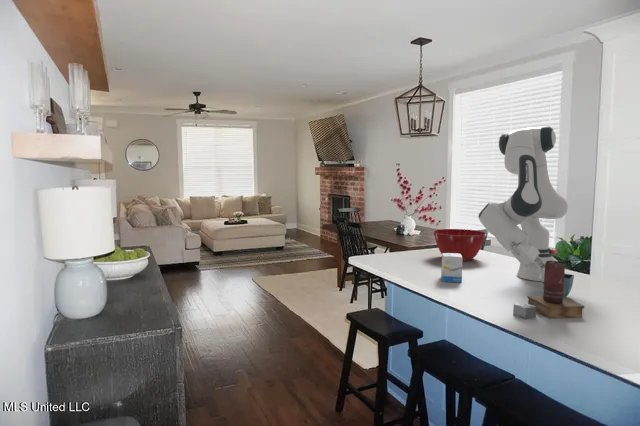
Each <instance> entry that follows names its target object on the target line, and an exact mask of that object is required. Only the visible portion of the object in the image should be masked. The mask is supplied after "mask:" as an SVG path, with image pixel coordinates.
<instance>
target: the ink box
mask: <svg viewBox="0 0 640 426" xmlns="http://www.w3.org/2000/svg"><path fill="white" fill-rule="evenodd" d="M463 262H464V261H463V257H462V255H461V254H458V253H442V254H441V275H440V277H441V280H442V282H447V283H449V282H451V283H462V282H463Z"/></svg>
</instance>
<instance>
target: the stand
mask: <svg viewBox="0 0 640 426" xmlns="http://www.w3.org/2000/svg"><path fill="white" fill-rule="evenodd" d="M527 299H528V304H531V305H534V306H536V307H537V308H536V313H538V314H540V315H542V316H544V317H545V318H548V319H568V318H569V319H570V318H583V309H585V305H582V304H581V303H578V302H576V301H573V300H572V299H569V298H568V297H566V298H565V297H563V302H562V303H560V304H554V303H549V302H546V301H544V299H543V295H528V296H527Z"/></svg>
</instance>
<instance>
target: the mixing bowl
mask: <svg viewBox="0 0 640 426" xmlns="http://www.w3.org/2000/svg"><path fill="white" fill-rule="evenodd" d="M432 233H433V234H434V240H435V243H436V246H437V249H438V250H439V252H440V254H441V255H442V253H458V254H461V255H462V257H463V262H465V261H470V260H472V259H474V258H475V257H476V256H477V255H478V253H479V252H480V250H481V248H482V246H483V244H484V240H485V237H486V235H487V233H486V232H485V231H481V230H476V229H465V228H464V229H463V228H462V229H461V228H443V229H436V230H433V231H432Z"/></svg>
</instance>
